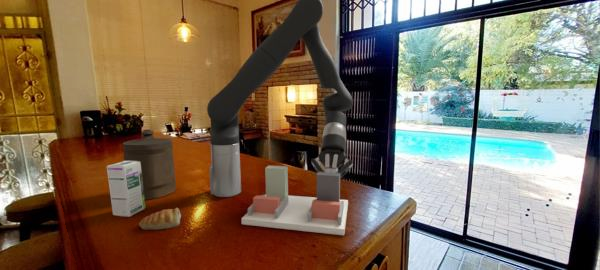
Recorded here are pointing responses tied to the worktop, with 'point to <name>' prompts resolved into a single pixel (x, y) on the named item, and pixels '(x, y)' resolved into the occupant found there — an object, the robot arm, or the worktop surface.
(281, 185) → the pale green tall block
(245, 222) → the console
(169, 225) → the pastry
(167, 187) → the grey canister
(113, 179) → the syrup box
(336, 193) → the grey upright block
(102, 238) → the worktop surface
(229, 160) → the robot arm
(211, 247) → the worktop surface
